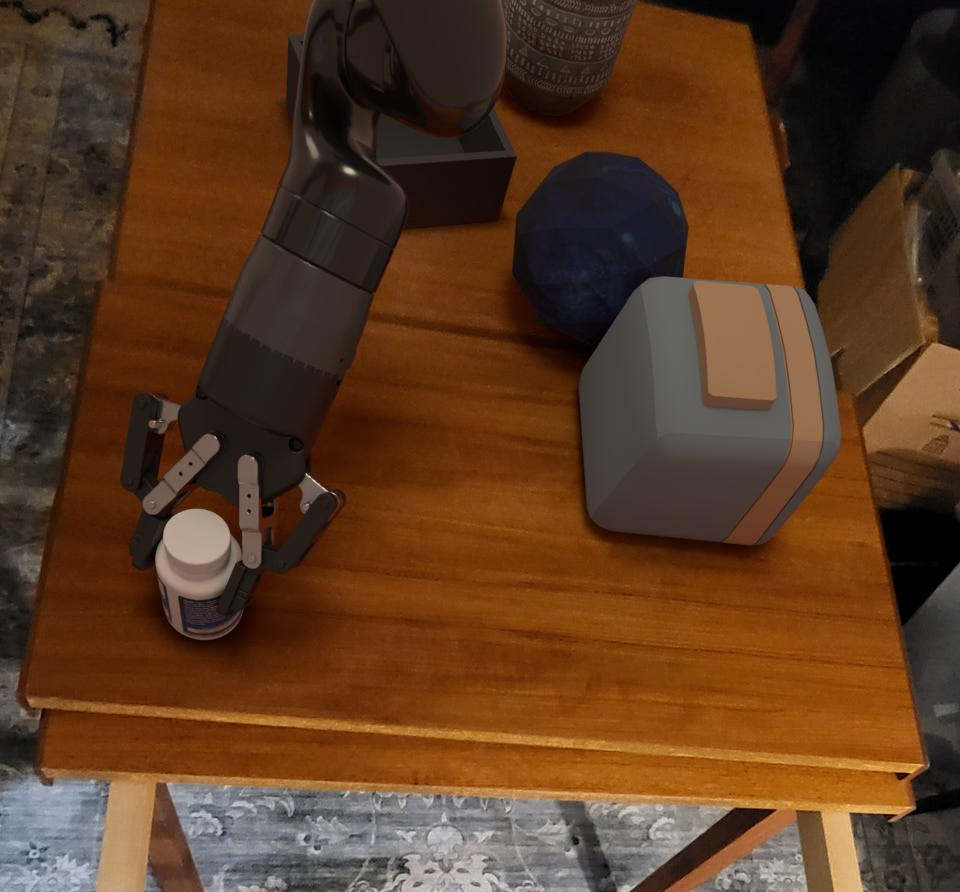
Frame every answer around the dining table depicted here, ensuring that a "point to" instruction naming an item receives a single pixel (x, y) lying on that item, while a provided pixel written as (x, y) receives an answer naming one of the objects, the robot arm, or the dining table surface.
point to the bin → (436, 163)
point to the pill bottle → (196, 573)
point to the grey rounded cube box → (708, 411)
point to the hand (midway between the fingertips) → (185, 588)
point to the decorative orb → (596, 240)
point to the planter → (562, 50)
